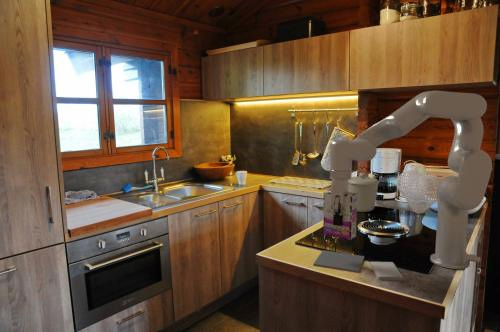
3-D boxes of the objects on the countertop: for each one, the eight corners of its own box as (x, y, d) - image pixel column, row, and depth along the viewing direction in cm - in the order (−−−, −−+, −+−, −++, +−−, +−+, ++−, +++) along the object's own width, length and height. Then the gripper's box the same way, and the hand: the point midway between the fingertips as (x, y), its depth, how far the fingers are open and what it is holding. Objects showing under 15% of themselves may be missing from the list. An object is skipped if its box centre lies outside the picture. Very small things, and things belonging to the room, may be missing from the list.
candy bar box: (356, 236, 133) (357, 192, 131) (350, 240, 129) (352, 195, 127) (328, 231, 140) (329, 189, 138) (322, 234, 136) (323, 191, 134)
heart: (449, 220, 183) (451, 176, 179) (421, 222, 180) (423, 178, 177) (415, 206, 210) (417, 168, 207) (390, 207, 208) (391, 169, 204)
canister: (365, 204, 217) (366, 169, 214) (385, 212, 200) (386, 174, 197) (338, 207, 211) (339, 171, 208) (357, 215, 194) (358, 176, 191)
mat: (364, 257, 139) (364, 256, 139) (358, 272, 127) (358, 270, 127) (322, 251, 146) (322, 250, 146) (313, 265, 133) (313, 263, 133)
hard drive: (403, 277, 120) (393, 261, 132) (378, 276, 121) (370, 261, 133) (403, 282, 120) (393, 266, 133) (378, 281, 121) (369, 265, 133)
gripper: (335, 170, 141) (334, 215, 143) (324, 177, 125) (323, 228, 128) (355, 171, 137) (354, 217, 140) (346, 179, 122) (345, 231, 125)
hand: (339, 222), depth 134 cm, fingers closed on candy bar box, 5 cm apart
